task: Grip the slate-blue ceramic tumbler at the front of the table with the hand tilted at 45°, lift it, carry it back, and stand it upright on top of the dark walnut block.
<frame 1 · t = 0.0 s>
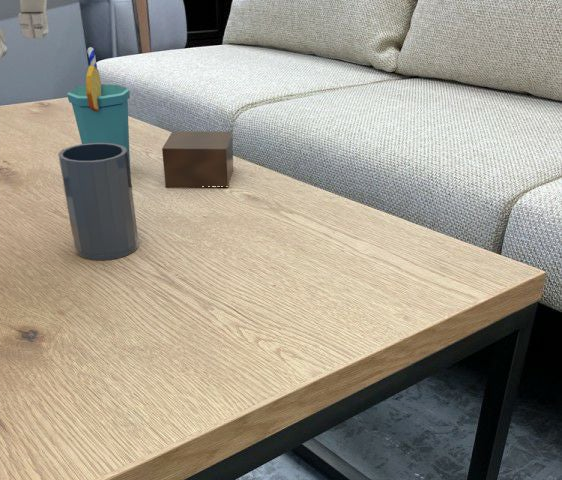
hand: (16, 47, 53), 21 cm above the table, tool pointing down, fingers open, 8 cm apart
walnut block: (200, 177, 93), on the table
cup: (109, 173, 95), on the table
slate cup: (107, 247, 74), on the table
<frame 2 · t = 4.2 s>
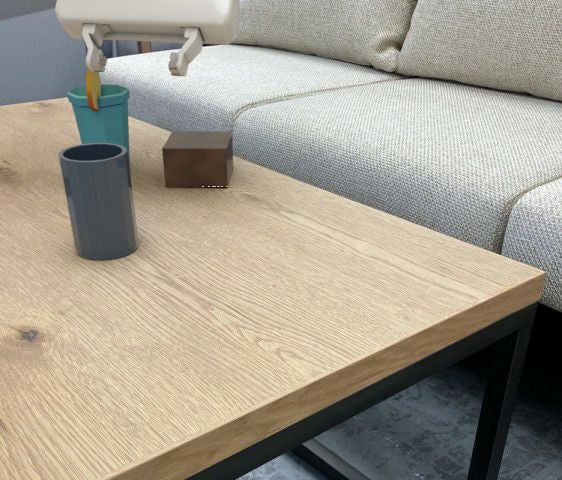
hand: (135, 70, 75), 15 cm above the table, tool tilted 45°, fingers open, 8 cm apart
nothing on the table moved.
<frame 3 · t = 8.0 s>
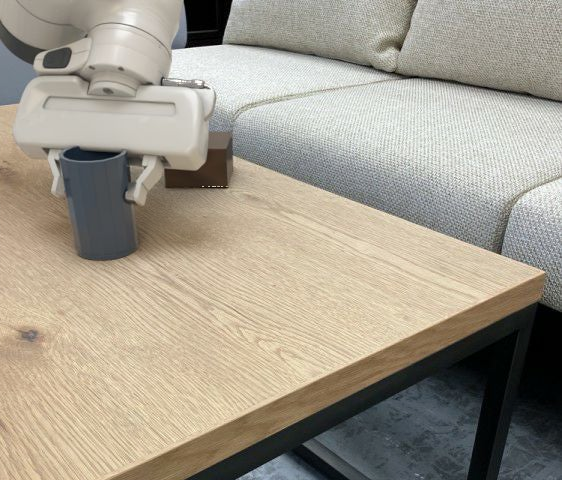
hand: (96, 199, 70), 5 cm above the table, tool tilted 45°, fingers closed on slate cup, 6 cm apart
slate cup: (107, 247, 74), on the table, touching gripper
everything else where it was.
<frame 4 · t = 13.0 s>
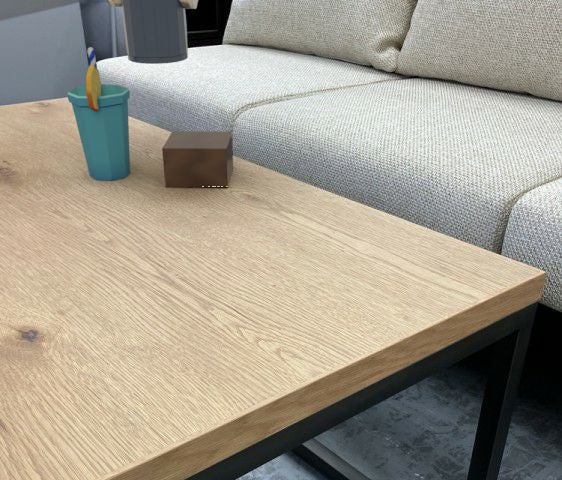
hand: (150, 4, 74), 21 cm above the table, tool tilted 45°, fingers closed on slate cup, 6 cm apart
slate cup: (158, 58, 77), point 16 cm above the table, touching gripper
everything else where it was.
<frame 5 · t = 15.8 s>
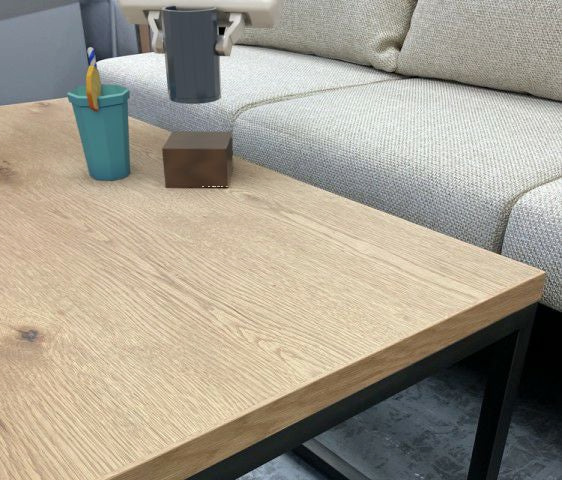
hand: (190, 52, 84), 15 cm above the table, tool tilted 45°, fingers closed on slate cup, 6 cm apart
slate cup: (195, 97, 87), point 10 cm above the table, touching gripper
everything else where it was.
when the fingers open (10 cm above the table, at t = 17.9 s): slate cup stays where it is, resting on walnut block.
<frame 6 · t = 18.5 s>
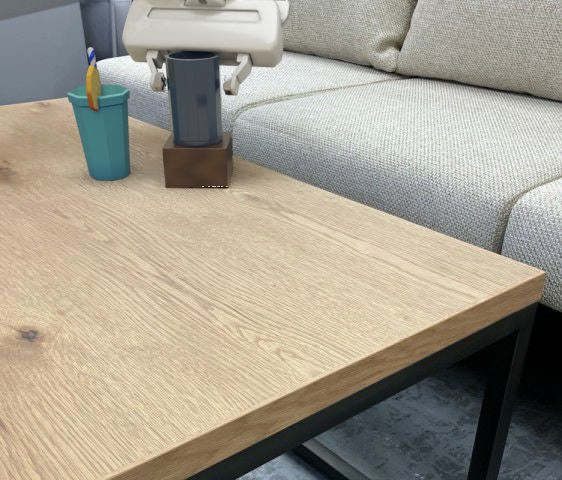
hand: (193, 90, 86), 11 cm above the table, tool tilted 45°, fingers open, 8 cm apart
slate cup: (197, 139, 90), point 5 cm above the table, touching walnut block
everything else where it was.
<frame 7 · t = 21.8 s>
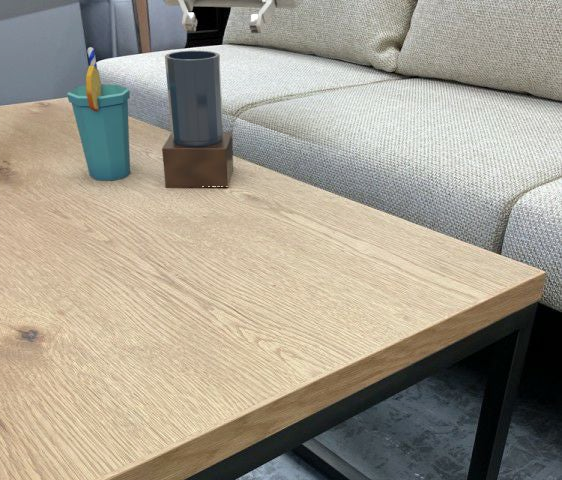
hand: (221, 29, 94), 16 cm above the table, tool tilted 45°, fingers open, 8 cm apart
nothing on the table moved.
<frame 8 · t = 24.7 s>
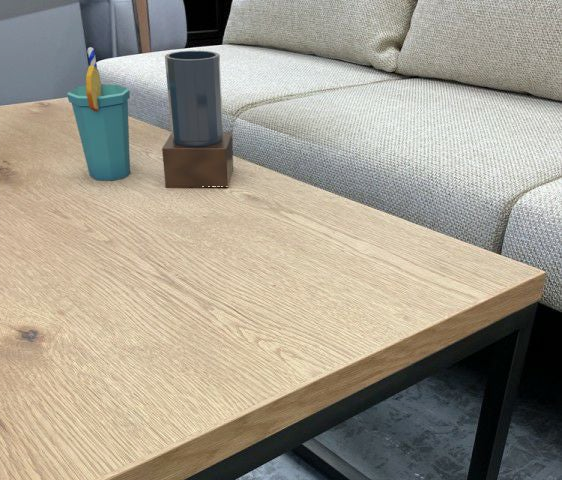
nothing on the table moved.
at the end: slate cup 0.0 cm off-centre on the walnut block, point 5.0 cm above the walnut block's base; slate cup tilted 0° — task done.
